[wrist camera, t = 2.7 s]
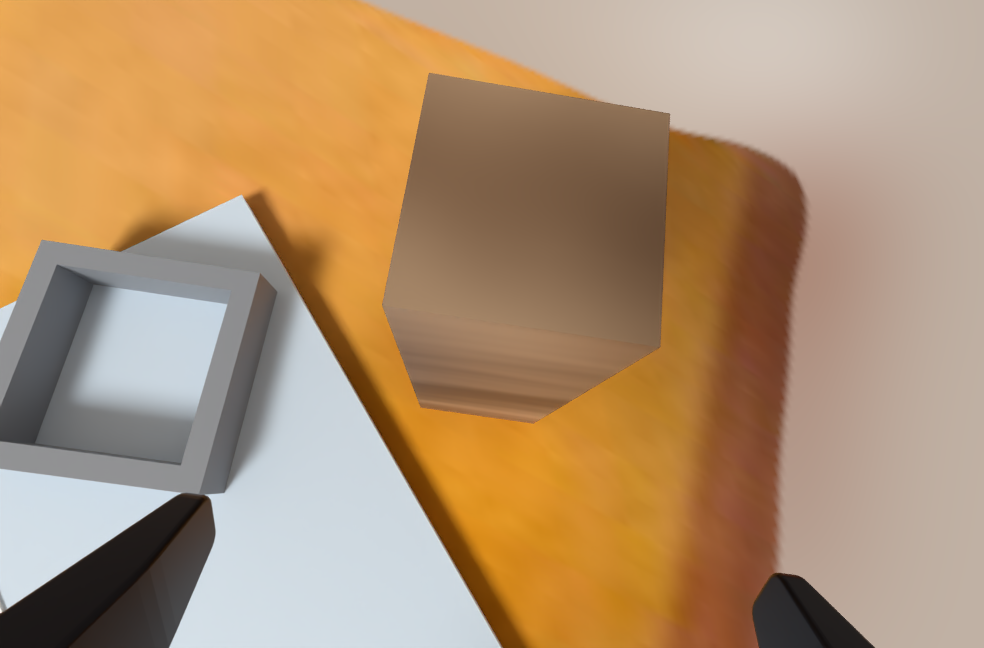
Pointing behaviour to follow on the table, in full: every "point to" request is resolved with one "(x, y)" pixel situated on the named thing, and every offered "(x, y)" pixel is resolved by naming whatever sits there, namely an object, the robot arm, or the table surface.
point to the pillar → (526, 247)
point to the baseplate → (287, 479)
